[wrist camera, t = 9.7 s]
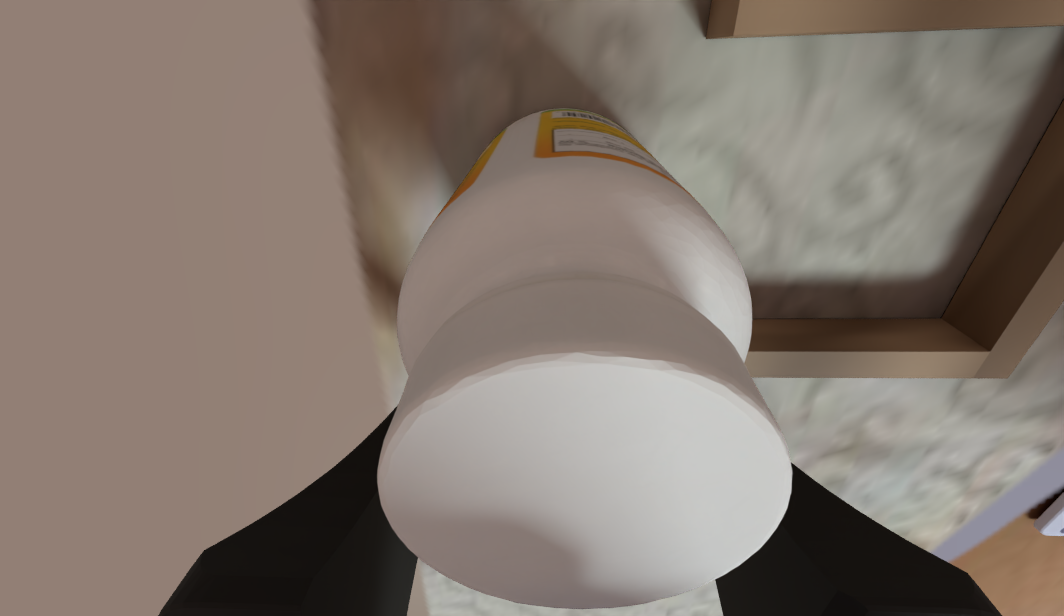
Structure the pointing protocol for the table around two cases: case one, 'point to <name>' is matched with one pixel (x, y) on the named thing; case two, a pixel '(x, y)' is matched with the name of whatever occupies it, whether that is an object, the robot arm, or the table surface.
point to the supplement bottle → (578, 381)
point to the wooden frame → (1002, 262)
